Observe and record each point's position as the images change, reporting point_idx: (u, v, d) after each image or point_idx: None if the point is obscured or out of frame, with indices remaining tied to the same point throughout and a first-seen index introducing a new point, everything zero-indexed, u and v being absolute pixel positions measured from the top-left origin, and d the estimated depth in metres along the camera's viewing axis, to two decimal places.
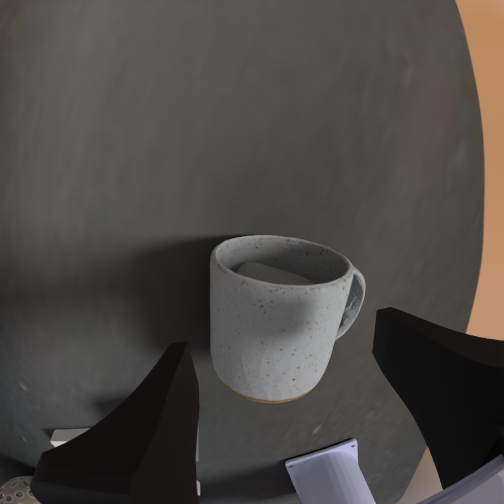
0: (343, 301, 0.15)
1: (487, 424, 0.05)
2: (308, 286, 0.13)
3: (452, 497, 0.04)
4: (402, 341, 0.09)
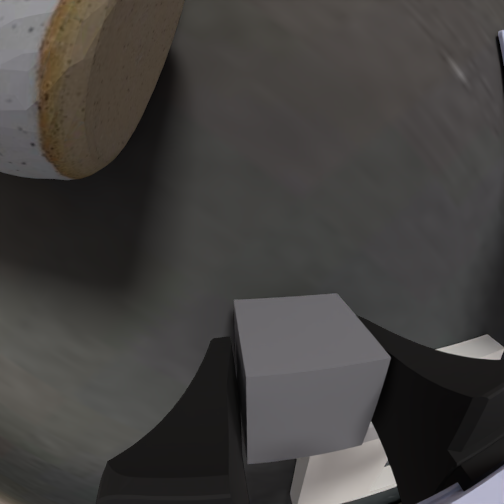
0: None
1: (442, 450, 0.05)
2: None
3: (452, 497, 0.04)
4: None
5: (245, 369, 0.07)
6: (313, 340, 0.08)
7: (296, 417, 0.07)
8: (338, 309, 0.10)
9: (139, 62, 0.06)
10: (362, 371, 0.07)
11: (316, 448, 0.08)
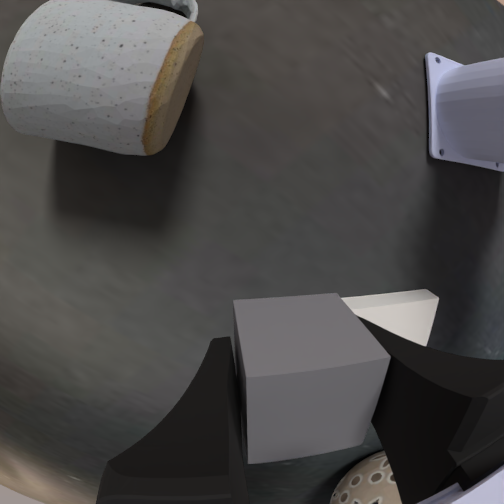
0: (65, 1, 0.08)
1: (442, 450, 0.05)
2: None
3: (452, 497, 0.04)
4: None
5: (245, 369, 0.07)
6: (313, 340, 0.08)
7: (296, 417, 0.07)
8: (338, 309, 0.10)
9: (179, 96, 0.13)
10: (362, 370, 0.07)
11: (316, 447, 0.08)
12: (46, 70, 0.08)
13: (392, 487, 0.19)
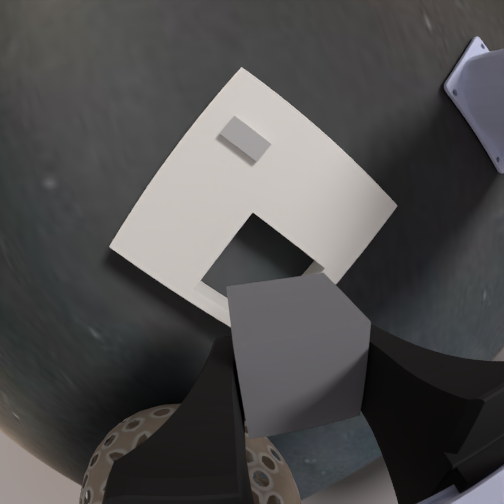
0: None
1: (438, 452, 0.05)
2: None
3: (452, 497, 0.04)
4: None
5: (233, 340, 0.08)
6: (297, 313, 0.09)
7: (287, 385, 0.08)
8: (323, 285, 0.11)
9: None
10: (344, 337, 0.08)
11: (313, 419, 0.09)
12: None
13: None
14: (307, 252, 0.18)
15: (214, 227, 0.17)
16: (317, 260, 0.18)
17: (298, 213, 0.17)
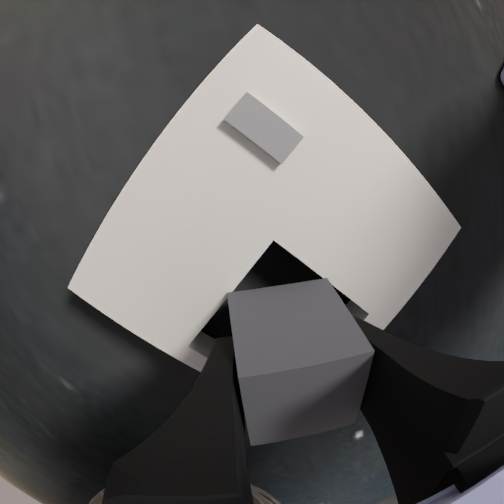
0: None
1: (438, 451, 0.05)
2: None
3: (452, 497, 0.04)
4: None
5: (237, 369, 0.08)
6: (301, 335, 0.09)
7: (288, 405, 0.08)
8: (327, 297, 0.11)
9: None
10: (347, 364, 0.08)
11: (311, 429, 0.09)
12: None
13: None
14: (348, 294, 0.12)
15: (216, 263, 0.11)
16: (360, 304, 0.12)
17: (339, 241, 0.11)
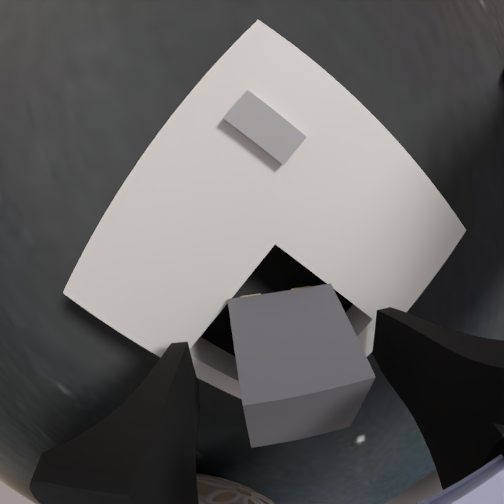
0: None
1: (487, 424, 0.05)
2: None
3: (452, 497, 0.04)
4: (402, 341, 0.09)
5: (241, 395, 0.08)
6: (304, 356, 0.09)
7: (289, 420, 0.09)
8: (331, 309, 0.10)
9: None
10: (348, 388, 0.08)
11: (308, 433, 0.10)
12: None
13: None
14: (351, 299, 0.12)
15: (215, 267, 0.11)
16: (364, 309, 0.12)
17: (343, 244, 0.11)
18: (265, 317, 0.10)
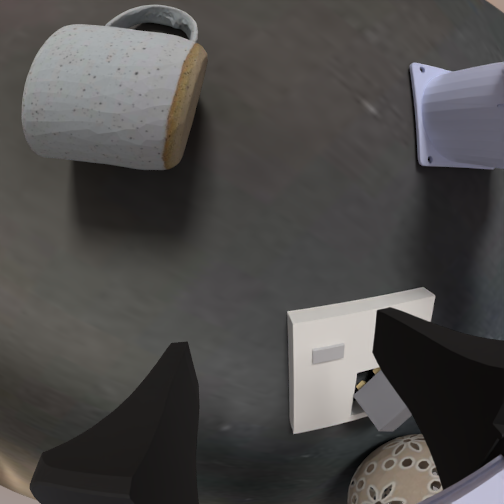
0: (74, 31, 0.10)
1: (487, 424, 0.05)
2: (29, 71, 0.09)
3: (452, 497, 0.04)
4: (401, 341, 0.09)
5: None
6: (389, 403, 0.21)
7: (397, 421, 0.21)
8: None
9: (190, 112, 0.15)
10: None
11: (409, 415, 0.22)
12: (67, 99, 0.10)
13: (404, 472, 0.21)
14: None
15: (342, 392, 0.23)
16: None
17: None
18: (369, 395, 0.22)
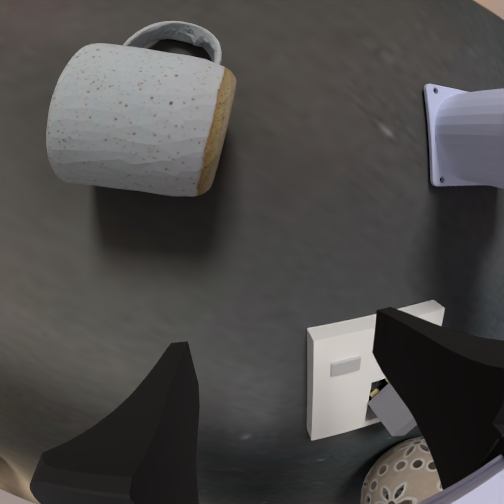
0: (98, 53, 0.10)
1: (487, 424, 0.05)
2: None
3: (452, 497, 0.04)
4: (401, 341, 0.09)
5: (390, 433, 0.21)
6: (401, 410, 0.22)
7: (409, 426, 0.22)
8: None
9: None
10: None
11: None
12: (97, 128, 0.11)
13: (415, 473, 0.22)
14: None
15: (357, 400, 0.24)
16: None
17: None
18: (383, 403, 0.23)
